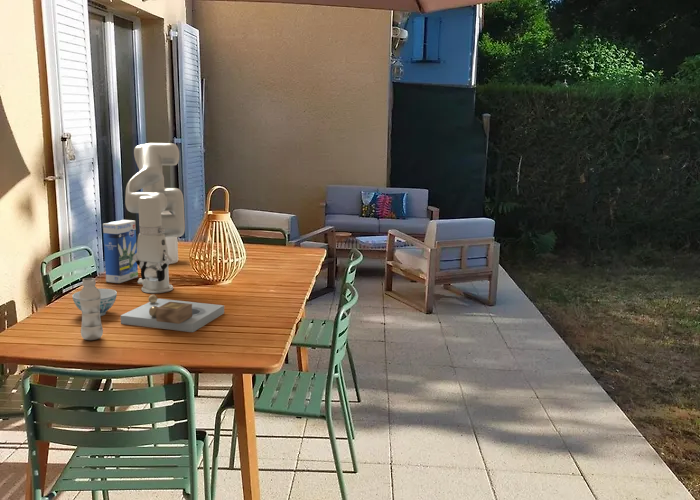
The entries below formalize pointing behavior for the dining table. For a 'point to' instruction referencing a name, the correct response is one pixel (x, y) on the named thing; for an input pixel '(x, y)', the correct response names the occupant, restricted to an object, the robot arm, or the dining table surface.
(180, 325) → the hole board
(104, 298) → the chinaware
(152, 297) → the ball
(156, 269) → the steel boule
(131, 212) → the robot arm
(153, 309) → the bronze ball
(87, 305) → the plastic bottle
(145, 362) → the dining table surface
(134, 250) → the string lights box
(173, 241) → the bottle
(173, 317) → the walnut cover
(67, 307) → the dining table surface
